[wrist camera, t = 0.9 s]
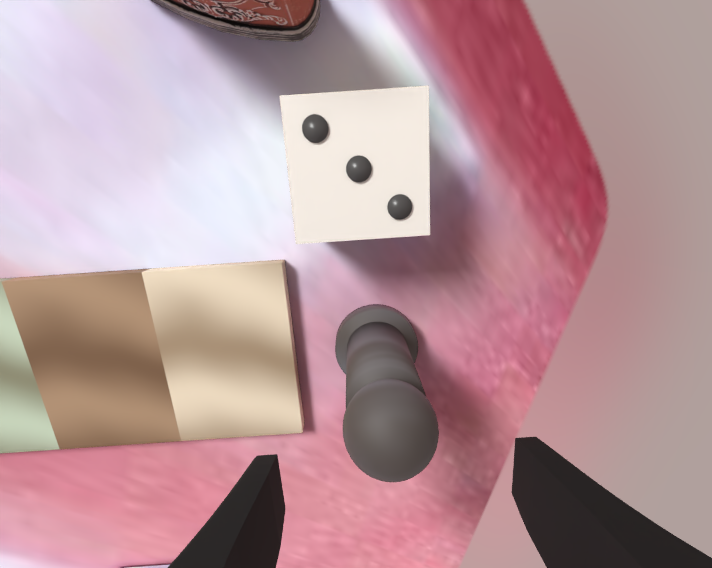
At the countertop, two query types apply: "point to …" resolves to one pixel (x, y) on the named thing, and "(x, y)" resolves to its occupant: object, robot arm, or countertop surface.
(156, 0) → the lighter
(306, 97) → the die
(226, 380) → the board
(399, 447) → the pawn
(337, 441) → the countertop surface
